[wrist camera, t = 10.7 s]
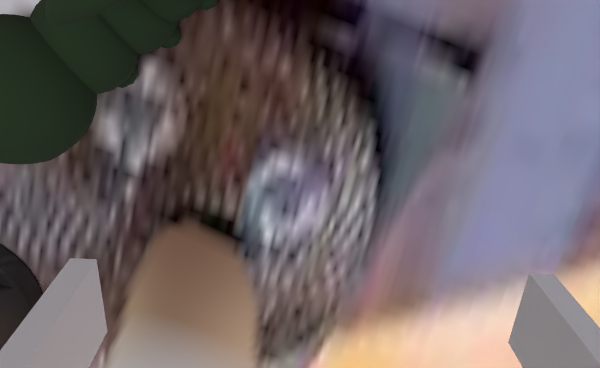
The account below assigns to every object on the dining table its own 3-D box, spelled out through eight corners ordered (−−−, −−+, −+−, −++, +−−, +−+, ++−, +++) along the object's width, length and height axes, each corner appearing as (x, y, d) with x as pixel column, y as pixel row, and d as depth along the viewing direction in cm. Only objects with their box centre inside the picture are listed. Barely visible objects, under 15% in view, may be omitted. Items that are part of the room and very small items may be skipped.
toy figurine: (191, -125, 33) (-65, 84, 37) (113, -263, 16) (-365, 167, 19) (271, -4, 37) (28, 176, 41) (282, -3, 19) (-154, 321, 23)
